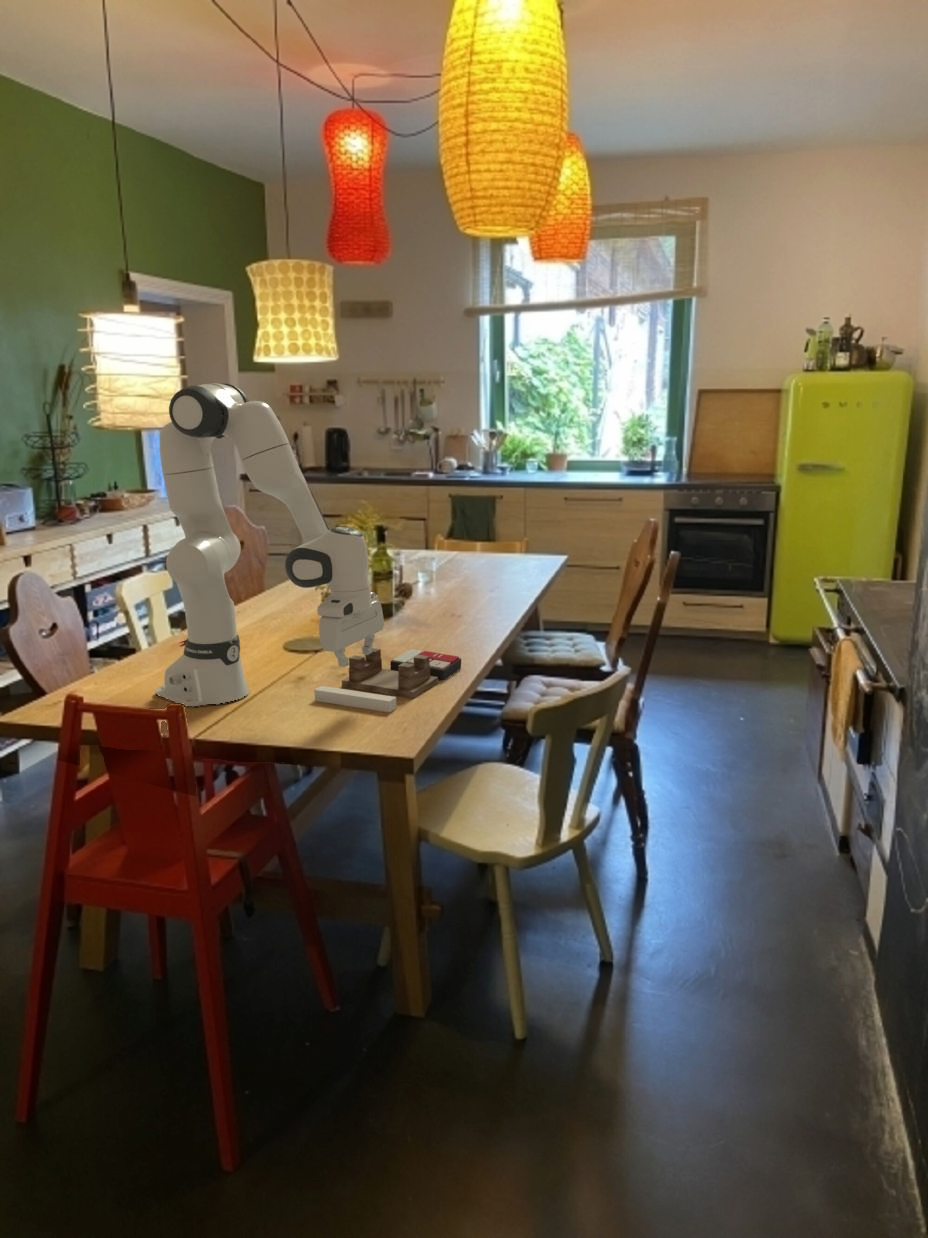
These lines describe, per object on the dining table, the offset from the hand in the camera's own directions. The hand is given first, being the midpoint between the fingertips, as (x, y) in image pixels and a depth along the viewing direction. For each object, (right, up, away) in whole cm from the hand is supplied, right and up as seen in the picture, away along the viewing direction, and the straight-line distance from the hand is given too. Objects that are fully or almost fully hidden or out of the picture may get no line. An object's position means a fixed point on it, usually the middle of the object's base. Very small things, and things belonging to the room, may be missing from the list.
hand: (355, 659), depth 199 cm
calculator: (+15, -5, +26) cm, 30 cm away
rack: (+6, -7, +16) cm, 18 cm away
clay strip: (-1, -11, +3) cm, 11 cm away
